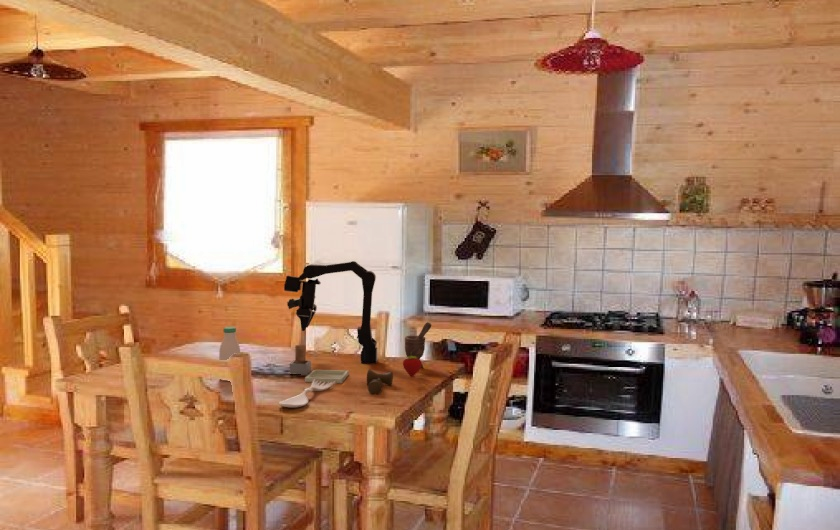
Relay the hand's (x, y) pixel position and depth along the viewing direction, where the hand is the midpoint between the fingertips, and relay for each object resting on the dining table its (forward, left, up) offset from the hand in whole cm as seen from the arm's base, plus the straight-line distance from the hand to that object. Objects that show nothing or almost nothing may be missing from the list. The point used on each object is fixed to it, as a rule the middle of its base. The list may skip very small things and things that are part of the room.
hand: (304, 329), depth 282 cm
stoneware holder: (-4, +23, -14) cm, 28 cm away
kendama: (-38, +39, -15) cm, 57 cm away
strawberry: (-49, +21, -14) cm, 55 cm away
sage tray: (-17, +30, -14) cm, 38 cm away
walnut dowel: (-4, +23, -14) cm, 28 cm away
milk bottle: (+20, +35, -14) cm, 43 cm away
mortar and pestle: (-50, +5, -14) cm, 52 cm away
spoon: (-16, +57, -15) cm, 61 cm away
